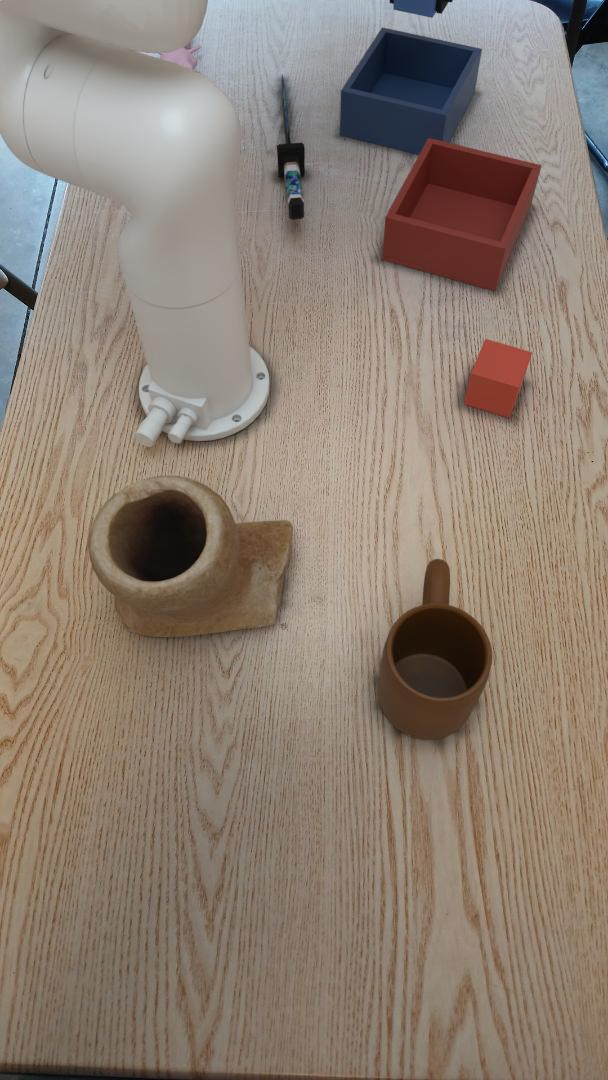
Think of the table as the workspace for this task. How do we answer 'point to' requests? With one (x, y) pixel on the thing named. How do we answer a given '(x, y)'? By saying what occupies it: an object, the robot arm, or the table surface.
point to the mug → (433, 663)
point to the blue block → (416, 7)
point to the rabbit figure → (182, 56)
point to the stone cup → (187, 560)
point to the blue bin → (408, 90)
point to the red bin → (460, 213)
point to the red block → (497, 378)
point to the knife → (291, 168)
